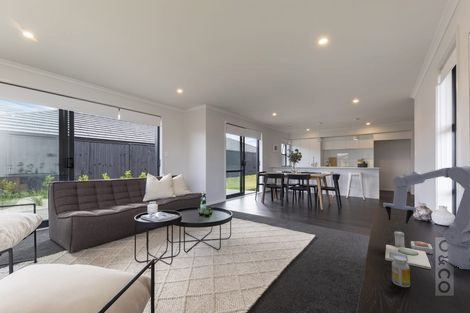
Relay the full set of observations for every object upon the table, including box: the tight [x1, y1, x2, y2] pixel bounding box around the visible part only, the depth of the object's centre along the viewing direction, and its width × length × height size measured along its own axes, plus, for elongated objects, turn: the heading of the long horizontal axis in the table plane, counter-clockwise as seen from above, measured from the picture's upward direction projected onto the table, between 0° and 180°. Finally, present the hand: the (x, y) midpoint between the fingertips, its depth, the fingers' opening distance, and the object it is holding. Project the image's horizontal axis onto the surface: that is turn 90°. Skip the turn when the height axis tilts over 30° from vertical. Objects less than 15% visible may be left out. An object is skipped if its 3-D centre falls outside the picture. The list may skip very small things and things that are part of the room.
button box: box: [410, 240, 434, 255], centre depth 111 cm, size 8×8×2 cm
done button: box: [414, 240, 428, 247], centre depth 112 cm, size 5×5×1 cm
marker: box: [394, 231, 406, 248], centre depth 116 cm, size 4×4×8 cm
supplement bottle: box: [391, 256, 411, 288], centre depth 81 cm, size 5×5×10 cm
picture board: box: [384, 244, 432, 270], centre depth 104 cm, size 20×16×1 cm
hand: (397, 221), depth 119 cm, fingers open, 7 cm apart
